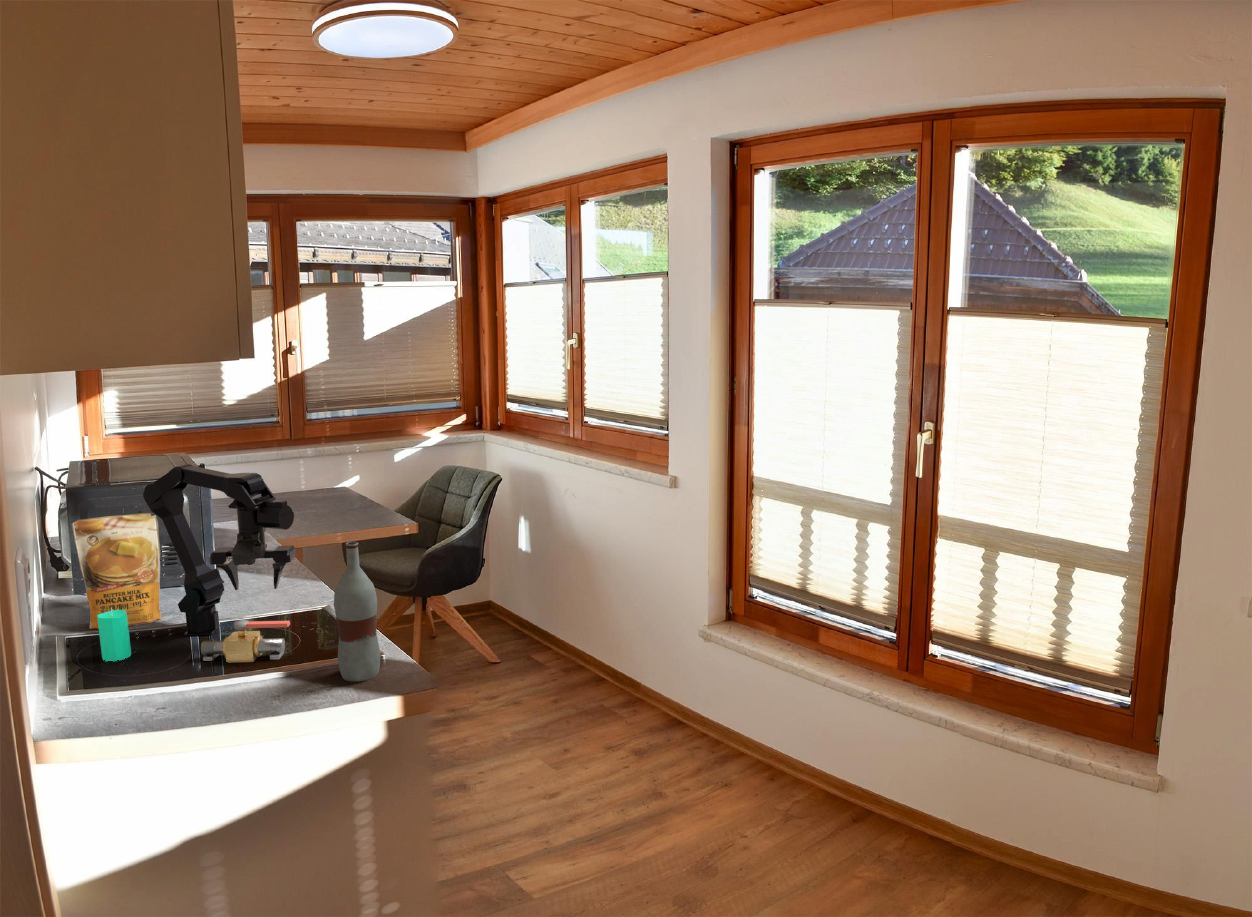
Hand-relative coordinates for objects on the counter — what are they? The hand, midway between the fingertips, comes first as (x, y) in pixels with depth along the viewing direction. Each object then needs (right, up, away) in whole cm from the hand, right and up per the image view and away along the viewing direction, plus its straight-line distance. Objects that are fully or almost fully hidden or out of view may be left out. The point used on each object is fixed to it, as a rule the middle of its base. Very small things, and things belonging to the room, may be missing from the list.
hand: (256, 589), depth 229 cm
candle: (-29, -15, -8) cm, 34 cm away
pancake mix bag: (-39, -11, +14) cm, 42 cm away
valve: (+1, -15, -9) cm, 17 cm away
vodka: (+31, -16, -19) cm, 40 cm away
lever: (+5, -7, -11) cm, 14 cm away
